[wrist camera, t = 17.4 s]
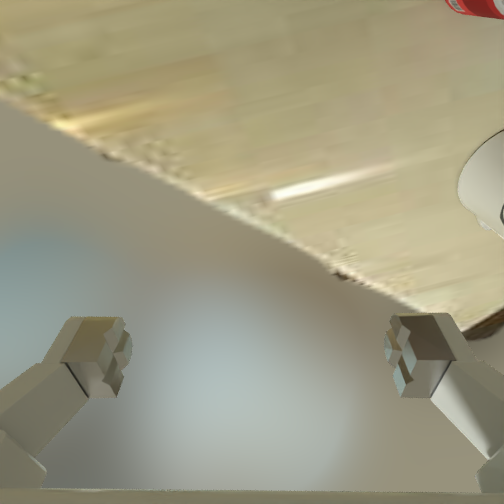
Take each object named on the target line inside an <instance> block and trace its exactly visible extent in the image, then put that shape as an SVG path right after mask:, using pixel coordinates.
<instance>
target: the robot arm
mask: <svg viewBox="0 0 504 504" xmlns="http://www.w3.org/2000/svg"><path fill="white" fill-rule="evenodd" d="M458 195H459V199H460V201H461V203H462V204H463V206H464V207H465V208H466V209H467V210H469V211H470V212H472V213H473V214H474V215H475V216H476V218H477V221H478V223H479V225H480V226H481V227H482V228H484V229H485V230H493V231H494V232H496V233H497V234H498V235H499V236H501V237H502V238H503V239H504V131H502V132H500V133H498V134H497V135H495V136H494V137H492V138H491V139H489V140H488V141H487V142H485V143H484V144H483V145H482V146H481V147H480V148H479V149H478V150H477V151H476V152H475V153H474V154H473V155H472V156H471V158H470V159H469V160H468V162H467V163H466V165H465V167H464V168H463V171H462V173H461V175H460V178H459V182H458ZM390 325H391V327H392V328H390V329H389V330H388V331H386V334H385V338H384V348H385V354H386V357H387V360H388V363H389V364H391V365H392V366H393V367H394V368H395V372H394V374H393V378H394V381H395V384H396V386H397V389H398V392H399V395H400V397H408V398H431V401H432V402H433V403H434V404H435V405H436V406H437V407H438V408H439V409H440V410H441V411H442V412H443V413H444V414H445V415H446V416H447V418H448V419H449V420H450V421H451V422H452V423H453V424H454V425H455V426H456V427H457V428H458V429H459V430H460V431H461V432H462V433H463V434H464V435H465V436H466V437H467V438H468V439H469V441H470V442H471V443H472V444H473V445H474V446H475V447H476V448H477V449H478V450H479V451H480V452H481V453H482V454H483V455H484V456H485V457H486V458H487V459H488V461H487V462H486V463H485V464H484V465H483V466H482V467H481V468H480V469H479V470H478V471H477V473H476V475H475V478H476V480H477V483H478V485H479V488H480V490H481V492H482V493H446V492H439V493H438V492H437V493H436V492H351V491H346V492H344V491H251V490H156V489H153V490H152V489H150V490H149V489H57V488H56V489H55V488H53V489H52V488H41V486H42V484H43V481H44V479H45V477H46V474H47V472H46V469H45V467H43V466H42V465H41V464H40V463H39V462H38V461H37V460H36V459H35V457H36V456H37V455H38V454H39V453H40V452H41V451H42V449H43V448H44V447H45V446H46V445H47V444H48V443H49V442H50V441H51V440H52V439H53V438H54V437H55V436H56V435H57V433H58V432H59V431H60V430H61V429H62V428H63V427H64V426H65V425H66V424H67V423H68V422H69V421H70V420H71V419H72V417H73V416H74V415H75V414H76V413H77V412H78V411H79V410H80V409H81V408H82V407H83V406H84V405H85V404H86V402H87V401H88V400H89V399H88V398H116V397H117V395H118V392H119V390H120V387H121V384H122V381H123V378H124V376H123V374H122V371H121V370H122V369H123V368H125V367H126V366H127V365H128V364H129V361H130V358H131V355H132V339H131V336H130V334H129V333H128V332H126V331H125V330H124V327H125V322H124V320H123V318H122V317H71V318H69V319H68V320H67V321H66V322H65V324H64V326H63V327H62V329H61V330H60V332H59V334H58V336H57V337H56V339H55V341H54V342H53V344H52V346H51V347H50V349H49V351H48V352H47V354H46V356H45V357H44V359H43V361H42V362H41V363H36V364H35V365H34V366H32V367H31V368H29V369H28V370H26V371H25V372H24V373H22V374H21V375H20V376H18V377H17V378H16V379H14V380H13V381H11V382H10V383H9V384H7V385H6V386H5V387H3V388H2V389H1V390H0V504H504V375H502V374H501V373H500V372H498V371H497V370H495V369H494V368H492V367H491V366H490V365H488V364H487V363H486V362H484V361H478V360H477V358H476V357H475V355H474V353H473V352H472V350H471V349H470V347H469V345H468V343H467V342H466V340H465V338H464V337H463V335H462V333H461V332H460V330H459V328H458V327H457V325H456V323H455V322H454V320H453V318H452V317H451V315H449V314H448V313H394V314H393V315H392V316H391V319H390Z"/></svg>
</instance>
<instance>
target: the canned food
mask: <svg viewBox="0 0 504 504" xmlns="http://www.w3.org/2000/svg"><path fill="white" fill-rule="evenodd" d="M445 1H446V3H447V4H448V5H449V6H450V8H451V9H453V10H454V11H456V12H458V13H461V14H465V15H473V16H480V17H488V18H496V19H504V0H445Z"/></svg>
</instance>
